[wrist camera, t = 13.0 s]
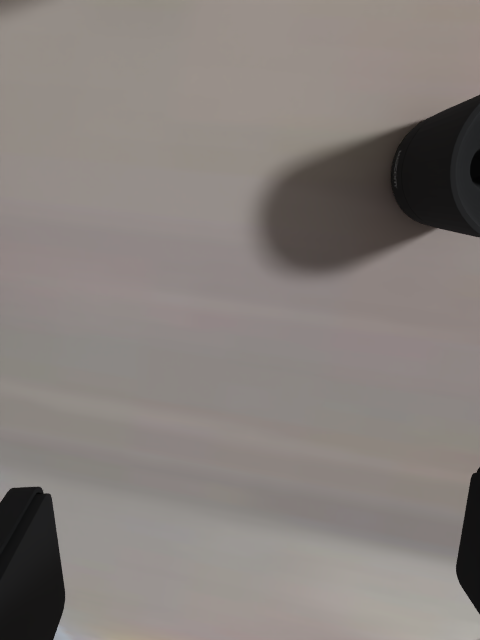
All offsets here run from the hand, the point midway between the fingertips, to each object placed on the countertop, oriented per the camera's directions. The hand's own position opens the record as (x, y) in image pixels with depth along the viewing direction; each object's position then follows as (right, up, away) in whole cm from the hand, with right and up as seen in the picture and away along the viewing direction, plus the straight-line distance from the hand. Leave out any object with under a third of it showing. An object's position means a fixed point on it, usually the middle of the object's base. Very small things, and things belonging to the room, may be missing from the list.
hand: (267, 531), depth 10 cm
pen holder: (+16, +17, +26) cm, 35 cm away
